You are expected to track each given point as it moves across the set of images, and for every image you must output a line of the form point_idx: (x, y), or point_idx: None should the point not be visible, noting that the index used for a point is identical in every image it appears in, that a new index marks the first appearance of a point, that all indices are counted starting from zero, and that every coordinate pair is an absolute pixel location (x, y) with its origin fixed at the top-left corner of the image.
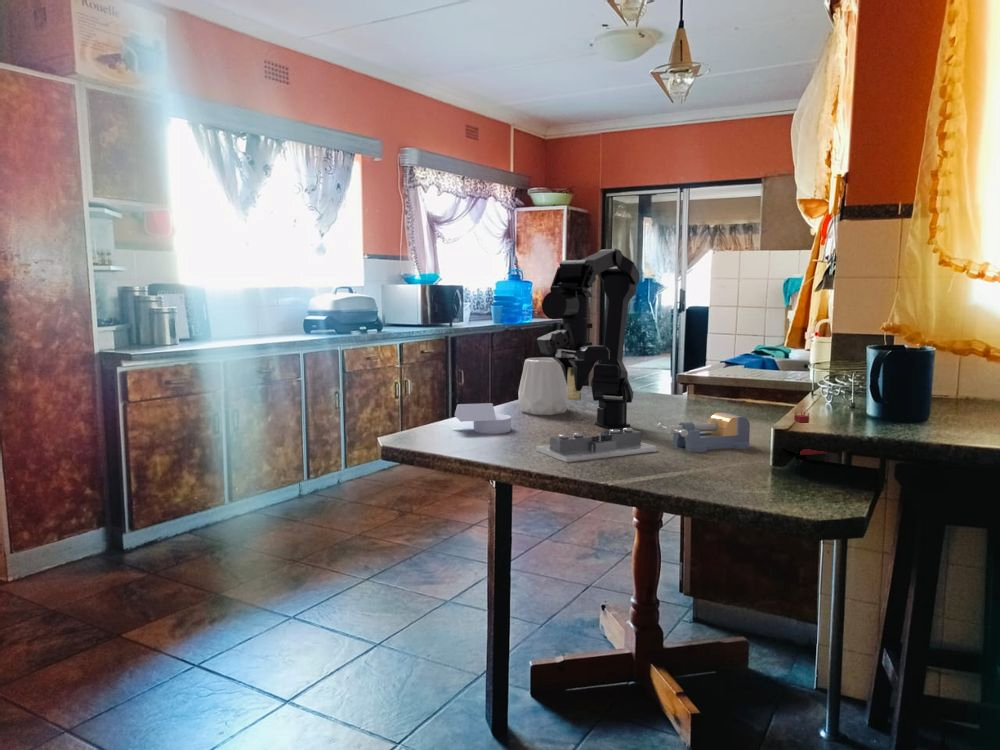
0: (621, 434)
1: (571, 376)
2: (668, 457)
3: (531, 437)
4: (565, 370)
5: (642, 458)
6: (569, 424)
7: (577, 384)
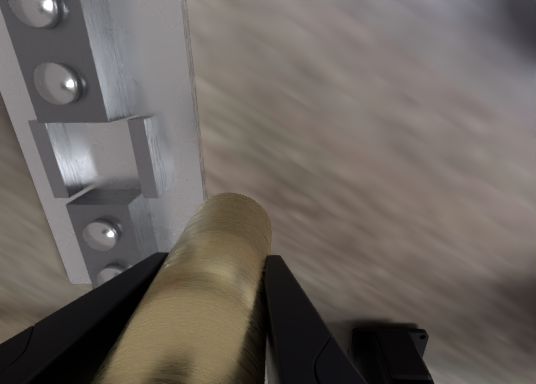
0: (77, 237)
1: (139, 315)
2: (14, 261)
3: (405, 71)
4: (282, 381)
5: (9, 207)
6: (496, 289)
7: (119, 281)
